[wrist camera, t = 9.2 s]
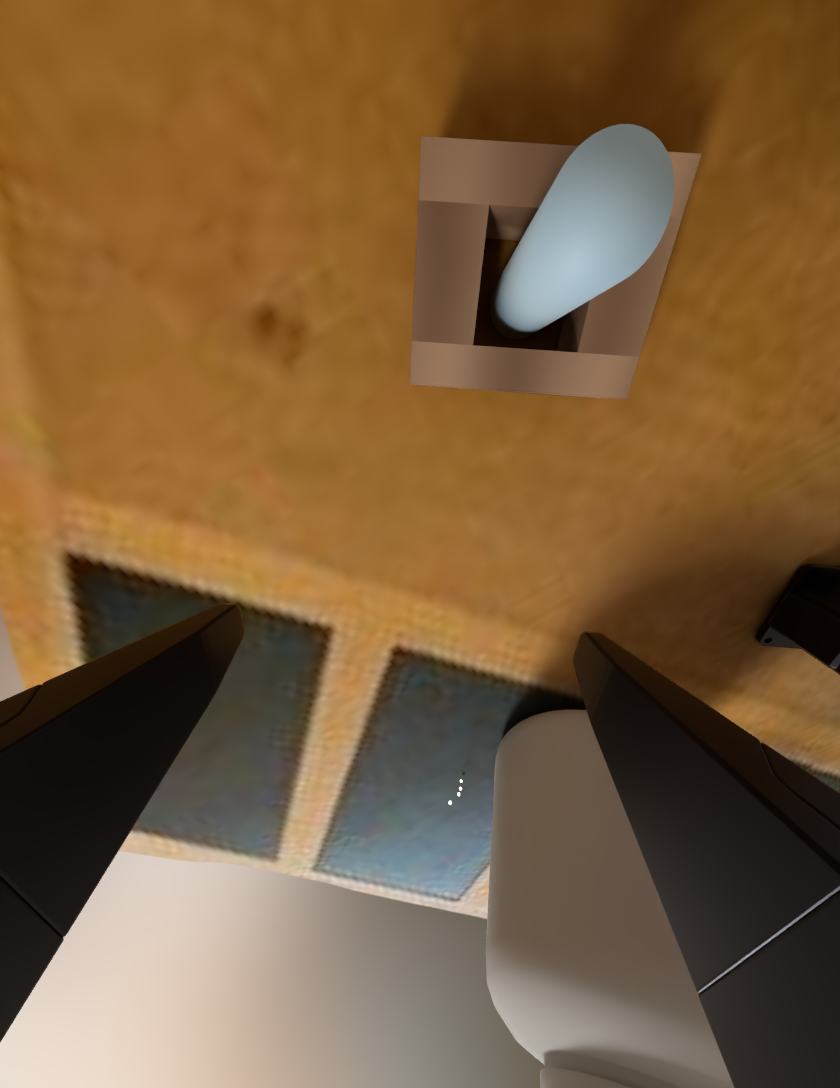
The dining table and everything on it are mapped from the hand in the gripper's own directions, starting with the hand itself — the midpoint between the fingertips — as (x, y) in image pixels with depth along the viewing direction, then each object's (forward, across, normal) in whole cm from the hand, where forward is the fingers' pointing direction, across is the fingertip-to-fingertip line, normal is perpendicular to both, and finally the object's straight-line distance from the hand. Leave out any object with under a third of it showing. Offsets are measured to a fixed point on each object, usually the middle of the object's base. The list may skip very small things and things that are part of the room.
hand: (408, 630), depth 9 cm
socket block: (+13, -4, -10) cm, 17 cm away
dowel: (+13, -4, -10) cm, 17 cm away
